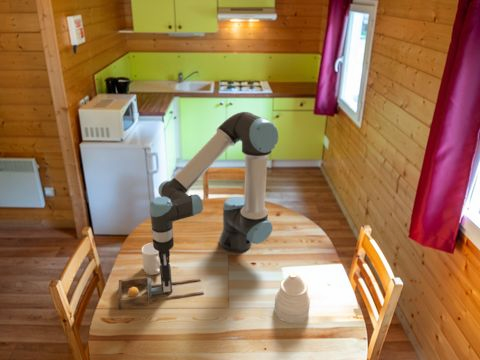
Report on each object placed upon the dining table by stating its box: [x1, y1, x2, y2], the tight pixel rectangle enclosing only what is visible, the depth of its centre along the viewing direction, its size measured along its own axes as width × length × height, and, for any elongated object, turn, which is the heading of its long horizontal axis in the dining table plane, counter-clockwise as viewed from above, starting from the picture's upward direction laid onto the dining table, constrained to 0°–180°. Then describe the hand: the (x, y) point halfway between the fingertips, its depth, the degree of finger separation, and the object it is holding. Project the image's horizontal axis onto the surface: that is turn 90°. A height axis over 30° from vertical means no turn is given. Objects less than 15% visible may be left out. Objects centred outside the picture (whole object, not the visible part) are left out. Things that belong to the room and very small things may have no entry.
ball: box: [127, 287, 140, 297], centre depth 153 cm, size 4×4×4 cm
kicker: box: [147, 263, 173, 298], centre depth 153 cm, size 9×6×12 cm, turn 103°
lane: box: [149, 278, 204, 303], centre depth 157 cm, size 21×9×1 cm, turn 103°
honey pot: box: [273, 271, 311, 324], centre depth 145 cm, size 13×13×18 cm
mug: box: [141, 242, 161, 276], centre depth 166 cm, size 9×12×11 cm
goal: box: [117, 276, 150, 310], centre depth 153 cm, size 11×12×4 cm
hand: (166, 287), depth 156 cm, fingers closed on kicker, 4 cm apart
